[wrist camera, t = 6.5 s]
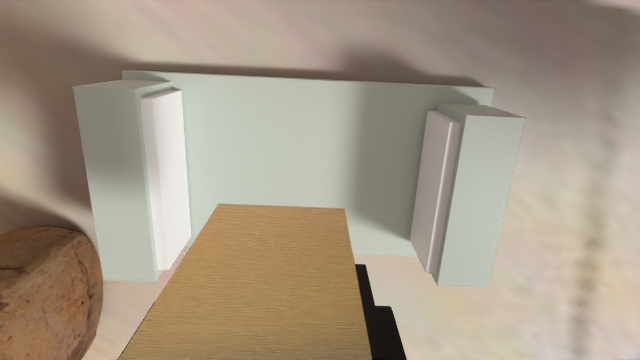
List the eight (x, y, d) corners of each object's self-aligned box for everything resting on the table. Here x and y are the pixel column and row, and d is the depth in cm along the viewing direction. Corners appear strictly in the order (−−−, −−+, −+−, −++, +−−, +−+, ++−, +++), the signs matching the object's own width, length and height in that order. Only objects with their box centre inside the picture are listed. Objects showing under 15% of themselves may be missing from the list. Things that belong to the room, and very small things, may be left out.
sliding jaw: (485, 105, 24) (525, 118, 19) (459, 247, 27) (488, 287, 22) (428, 102, 23) (454, 114, 19) (408, 245, 27) (427, 285, 22)
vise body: (486, 87, 25) (538, 98, 19) (456, 249, 29) (492, 301, 23) (130, 69, 24) (70, 75, 18) (149, 238, 28) (104, 287, 22)
